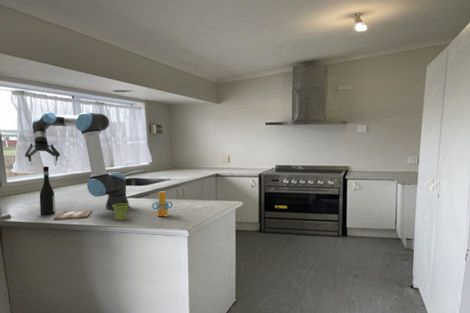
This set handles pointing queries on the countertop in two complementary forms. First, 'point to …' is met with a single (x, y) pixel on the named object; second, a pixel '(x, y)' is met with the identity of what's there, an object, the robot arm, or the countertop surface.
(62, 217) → the board
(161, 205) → the orange block with loops
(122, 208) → the plant pot
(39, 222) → the countertop surface
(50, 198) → the wine bottle
